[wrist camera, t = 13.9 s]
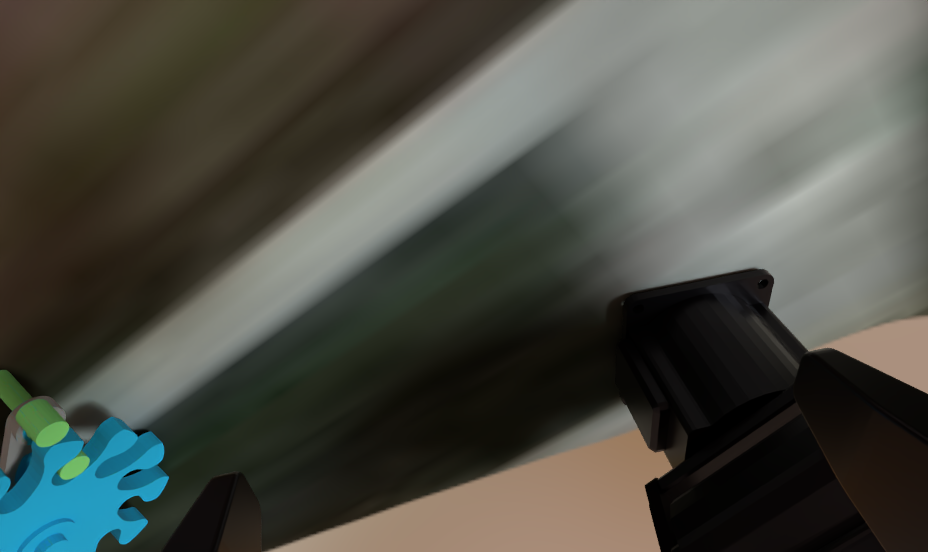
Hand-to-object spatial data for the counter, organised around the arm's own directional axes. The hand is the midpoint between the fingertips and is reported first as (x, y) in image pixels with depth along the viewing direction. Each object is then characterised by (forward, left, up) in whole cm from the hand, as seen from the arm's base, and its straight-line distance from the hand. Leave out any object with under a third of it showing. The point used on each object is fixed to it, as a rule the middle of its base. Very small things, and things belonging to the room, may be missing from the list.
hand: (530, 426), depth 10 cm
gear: (+17, +11, -13) cm, 24 cm away
